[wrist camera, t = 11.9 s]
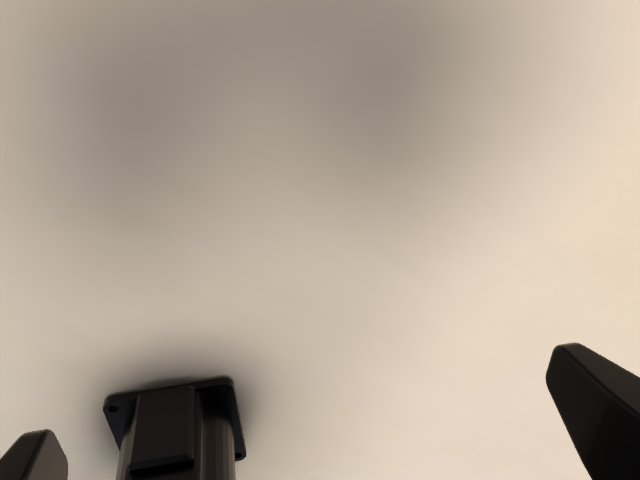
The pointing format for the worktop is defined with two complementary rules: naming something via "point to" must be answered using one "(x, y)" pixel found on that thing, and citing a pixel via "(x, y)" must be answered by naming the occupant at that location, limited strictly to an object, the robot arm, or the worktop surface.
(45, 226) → the worktop surface
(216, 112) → the worktop surface
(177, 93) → the worktop surface
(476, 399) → the worktop surface
